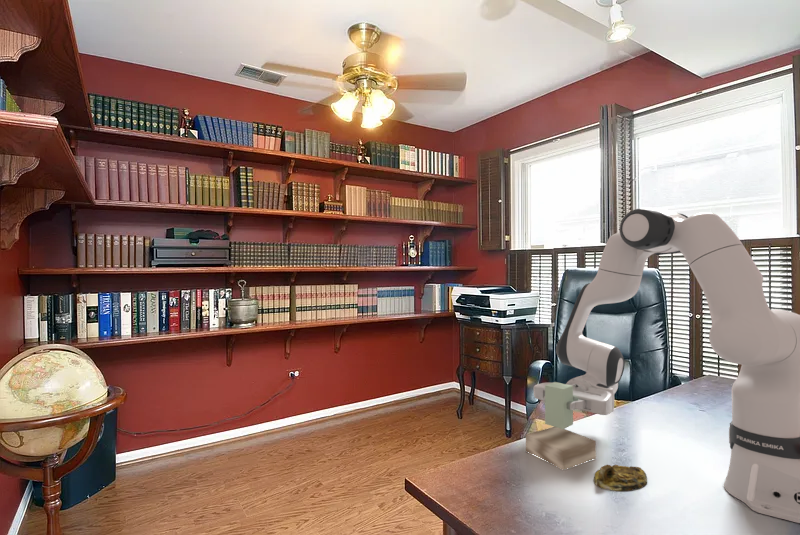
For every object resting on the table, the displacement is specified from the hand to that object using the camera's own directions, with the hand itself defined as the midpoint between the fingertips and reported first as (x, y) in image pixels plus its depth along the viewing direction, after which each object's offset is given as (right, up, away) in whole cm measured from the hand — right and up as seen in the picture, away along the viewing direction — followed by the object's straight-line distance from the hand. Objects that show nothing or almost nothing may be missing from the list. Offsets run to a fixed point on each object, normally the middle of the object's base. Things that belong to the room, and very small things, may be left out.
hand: (557, 403), depth 109 cm
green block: (+1, -6, +1) cm, 6 cm away
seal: (+10, -14, -13) cm, 21 cm away
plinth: (+1, -14, 0) cm, 14 cm away
